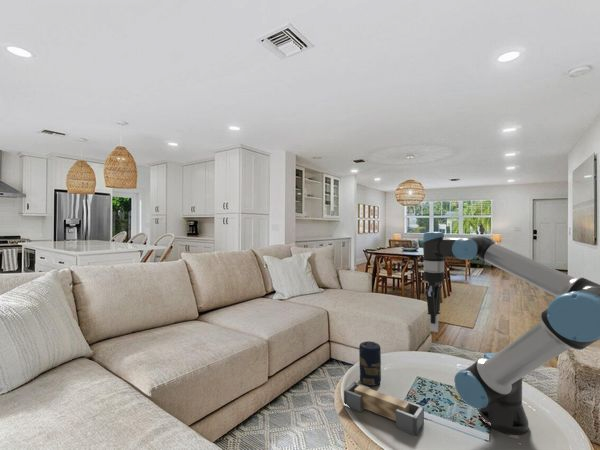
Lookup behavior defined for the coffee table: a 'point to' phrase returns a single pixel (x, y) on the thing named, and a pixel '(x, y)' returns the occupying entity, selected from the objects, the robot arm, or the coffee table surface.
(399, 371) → the coffee table surface
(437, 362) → the coffee table surface
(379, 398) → the slat
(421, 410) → the endcap
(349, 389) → the endcap
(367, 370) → the canister
